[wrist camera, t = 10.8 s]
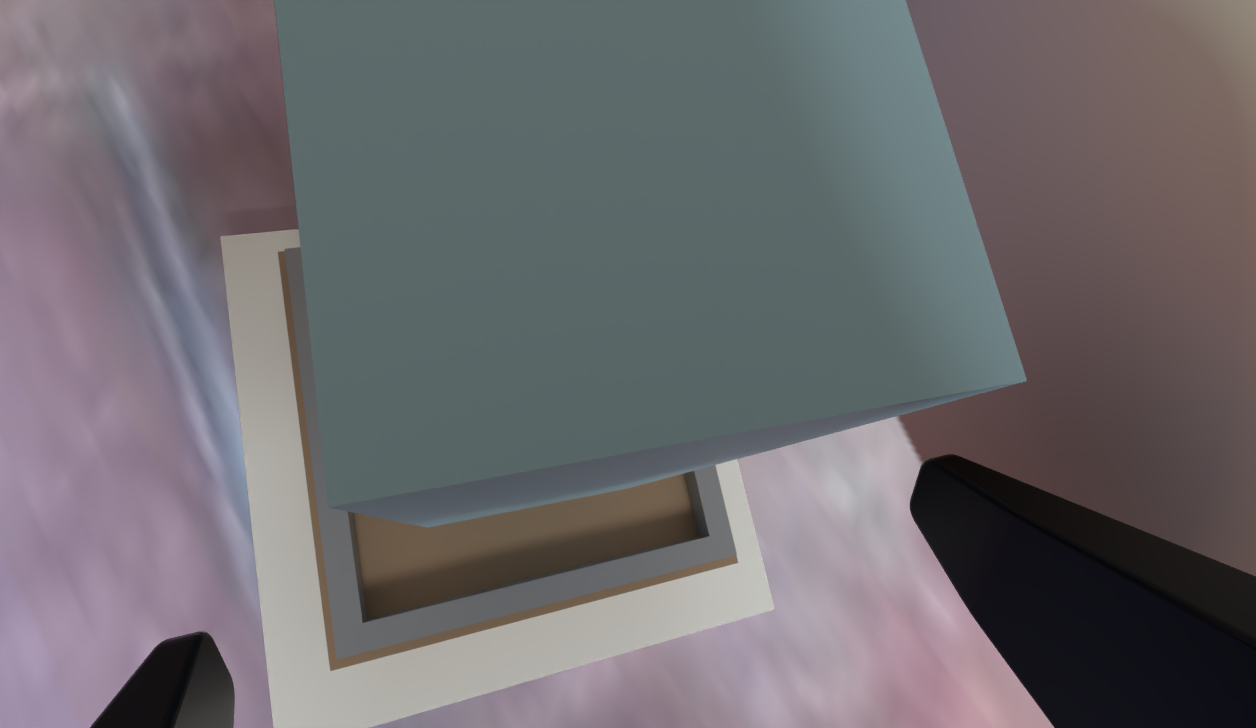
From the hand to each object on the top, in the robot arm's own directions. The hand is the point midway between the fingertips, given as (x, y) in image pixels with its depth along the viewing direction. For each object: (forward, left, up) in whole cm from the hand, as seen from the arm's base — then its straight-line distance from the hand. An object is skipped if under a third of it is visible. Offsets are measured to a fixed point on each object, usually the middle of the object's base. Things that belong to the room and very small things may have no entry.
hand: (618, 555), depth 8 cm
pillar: (+3, 0, -9) cm, 9 cm away
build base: (+3, 0, -13) cm, 13 cm away
